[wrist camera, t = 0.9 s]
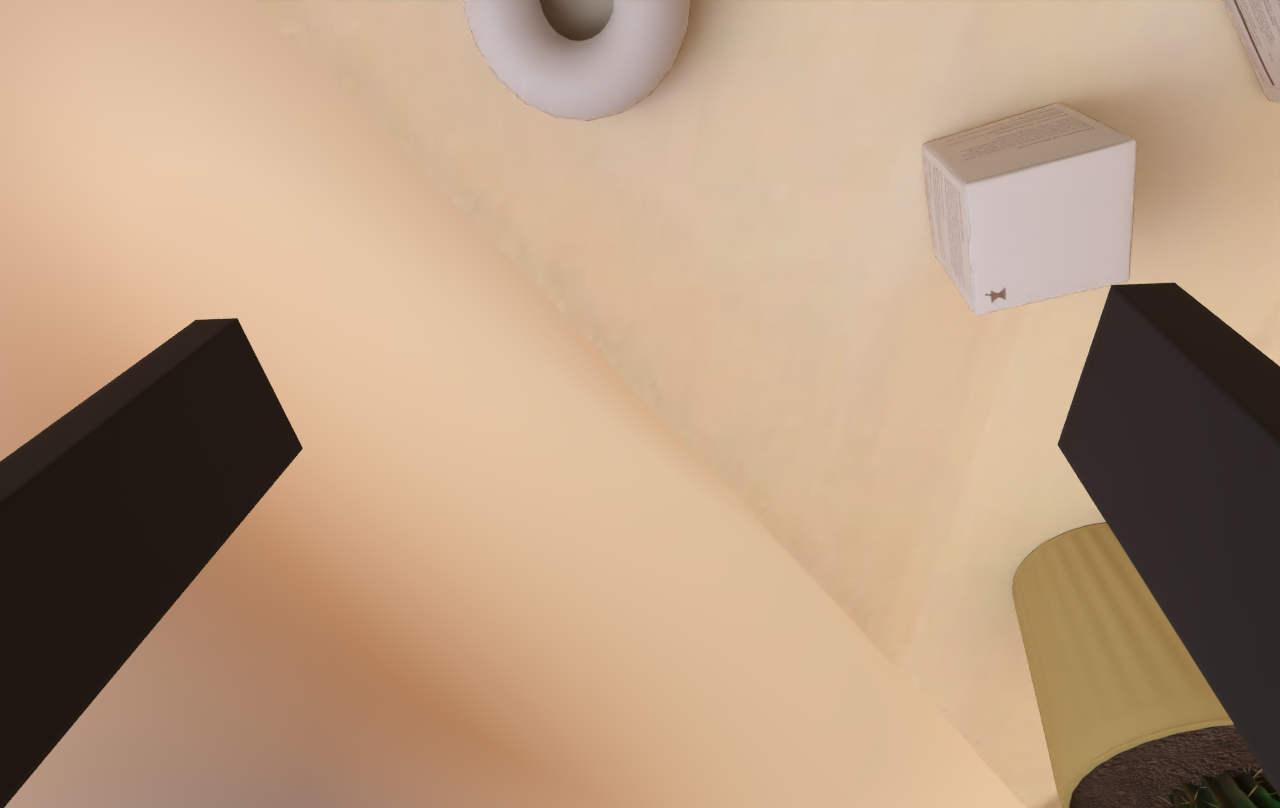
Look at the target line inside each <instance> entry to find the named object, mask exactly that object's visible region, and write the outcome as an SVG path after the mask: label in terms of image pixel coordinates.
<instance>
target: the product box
mask: <svg viewBox="0 0 1280 808" xmlns="http://www.w3.org/2000/svg"><path fill="white" fill-rule="evenodd" d="M922 150H923V162H924V172H925V181H926V190H927V199H928V207H929V215H930V223H931V231H932V238H933V245H934V252H935V256H936V258H937V259H938V260H939V262H940V263H941V265H942V267H943V268H944V270H945V271H946V273H947V274H948V276H949V277H950V279H951V280H952V282H953V283H954V285H955V286H956V288H957V289H958V291H959V292H960V294H961V295H962V297H963V298H964V300H965V301H966V303H967V304H968V306H969V307H970V309H971V310H972V312H973V313H974V314H975V315H983V314H987V313H991V312H995V311H1000V310H1004V309H1008V308H1012V307H1017V306H1021V305H1025V304H1030V303H1034V302H1038V301H1042V300H1047V299H1051V298H1056V297H1060V296H1064V295H1069V294H1073V293H1078V292H1083V291H1087V290H1092V289H1096V288H1101V287H1105V286H1110V285H1114V284H1119V283H1124V282H1127V281H1128V280H1129V278H1130V261H1131V246H1132V229H1133V213H1134V193H1135V174H1136V152H1137V140H1136V139H1134V138H1132V137H1129V136H1127V135H1125V134H1123V133H1121V132H1119V131H1117V130H1115V129H1113V128H1111V127H1109V126H1107V125H1105V124H1103V123H1101V122H1099V121H1097V120H1095V119H1093V118H1091V117H1089V116H1087V115H1084V114H1082V113H1080V112H1078V111H1076V110H1074V109H1072V108H1070V107H1068V106H1066V105H1064V104H1062V103H1056V104H1052V105H1049V106H1045V107H1042V108H1039V109H1036V110H1033V111H1029V112H1026V113H1023V114H1020V115H1016V116H1013V117H1009V118H1006V119H1003V120H1000V121H997V122H993V123H990V124H987V125H984V126H981V127H977V128H974V129H970V130H967V131H964V132H961V133H957V134H954V135H951V136H947V137H944V138H941V139H937V140H934V141H931V142H928V143H925V144H923V145H922Z"/></svg>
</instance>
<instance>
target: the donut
mask: <svg viewBox="0 0 1280 808" xmlns="http://www.w3.org/2000/svg"><path fill="white" fill-rule="evenodd" d="M463 4H464V10H465V13H466V16H467V19H468V22H469V25H470V28H471V31H472V34H473V37H474V40H475V43H476V46H477V48H478V50H479V51H480V53H481V54H482V56H483V57H484V59H485V60H486V62H487V63H488V65H489V67H490V68H491V70H492V71H493V73H494V74H495V76H496V77H497V79H498V80H499V81H500V82H501V83H503V84H504V85H505V86H506V87H507V88H508V89H509V90H510V91H512V92H513V93H514V94H515V95H516V96H517V97H518V98H519V99H521V100H522V101H523V102H524V103H525V104H527V105H530V106H532V107H534V108H536V109H538V110H540V111H543V112H545V113H547V114H549V115H551V116H553V117H556V118H565V119H574V120H583V121H590V120H594V119H598V118H603V117H607V116H611V115H615V114H619V113H622V112H624V111H625V110H627V109H629V108H630V107H632V106H633V105H635V104H636V103H638V102H639V101H641V100H642V99H644V98H646V97H647V96H649V95H650V94H651V93H652V92H653V90H654V89H655V88H656V87H657V85H658V84H659V83H660V81H661V80H662V79H663V78H664V76H665V75H666V74H667V73H668V71H669V70H670V69H671V68H672V66H673V64H674V62H675V59H676V57H677V54H678V52H679V49H680V47H681V44H682V42H683V39H684V37H685V34H686V32H687V28H688V18H689V9H690V0H614V3H613V10H612V13H611V16H610V19H609V22H608V23H607V24H606V26H605V27H604V29H603V30H602V31H601V32H600V33H598V34H597V35H596V36H594V37H593V38H590V39H587V40H583V41H576V40H570V39H567V38H565V37H563V36H561V35H560V34H559V33H558V32H557V31H555V30H554V29H553V28H552V27H551V26H550V24H549V22H548V21H547V19H546V17H545V15H544V14H543V10H542V6H541V3H540V0H463Z"/></svg>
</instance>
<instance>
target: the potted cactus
mask: <svg viewBox="0 0 1280 808" xmlns="http://www.w3.org/2000/svg"><path fill="white" fill-rule="evenodd" d="M1013 598H1014V603H1015V607H1016V612H1017V616H1018V620H1019V625H1020V629H1021V633H1022V638H1023V642H1024V646H1025V651H1026V655H1027V659H1028V664H1029V668H1030V673H1031V677H1032V681H1033V686H1034V690H1035V694H1036V699H1037V703H1038V707H1039V712H1040V716H1041V721H1042V725H1043V729H1044V734H1045V738H1046V743H1047V747H1048V752H1049V756H1050V760H1051V765H1052V770H1053V774H1054V779H1055V783H1056V788H1057V792H1058V795H1059V798H1060V801H1061V806H1062V808H1280V797H1279V795H1278V794H1277V792H1276V790H1275V789H1274V787H1273V786H1272V784H1271V783H1270V781H1269V779H1268V778H1267V776H1266V775H1265V773H1264V771H1263V770H1262V768H1261V767H1260V765H1259V763H1258V762H1257V760H1256V759H1255V757H1254V756H1253V754H1252V752H1251V751H1250V749H1249V748H1248V746H1247V744H1246V743H1245V741H1244V740H1243V738H1242V737H1241V735H1240V733H1239V732H1238V730H1237V729H1236V727H1235V725H1234V724H1233V722H1232V721H1231V719H1230V717H1229V716H1228V714H1227V713H1226V711H1225V710H1224V708H1223V706H1222V705H1221V703H1220V702H1219V700H1218V698H1217V697H1216V695H1215V694H1214V692H1213V691H1212V689H1211V687H1210V686H1209V684H1208V683H1207V681H1206V679H1205V678H1204V676H1203V675H1202V673H1201V671H1200V670H1199V668H1198V667H1197V665H1196V664H1195V662H1194V660H1193V659H1192V657H1191V656H1190V654H1189V652H1188V651H1187V649H1186V648H1185V646H1184V645H1183V643H1182V641H1181V640H1180V638H1179V637H1178V635H1177V633H1176V632H1175V630H1174V629H1173V627H1172V625H1171V624H1170V622H1169V621H1168V619H1167V618H1166V616H1165V614H1164V613H1163V611H1162V610H1161V608H1160V606H1159V605H1158V603H1157V602H1156V600H1155V599H1154V597H1153V595H1152V594H1151V592H1150V591H1149V589H1148V587H1147V586H1146V584H1145V583H1144V581H1143V579H1142V578H1141V576H1140V575H1139V573H1138V572H1137V570H1136V568H1135V567H1134V565H1133V564H1132V562H1131V560H1130V559H1129V557H1128V556H1127V554H1126V553H1125V551H1124V549H1123V548H1122V546H1121V545H1120V543H1119V541H1118V540H1117V538H1116V537H1115V535H1114V533H1113V532H1112V530H1111V529H1110V527H1109V526H1108V524H1107V523H1100V524H1094V525H1089V526H1085V527H1081V528H1078V529H1075V530H1071V531H1069V532H1066V533H1063V534H1061V535H1059V536H1057V537H1055V538H1053V539H1051V540H1049V541H1047V542H1046V543H1044V544H1043V545H1041V546H1040V547H1038V548H1037V549H1035V550H1034V551H1033V552H1032V553H1031V554H1030V555H1029V556H1028V557H1027V558H1026V559H1025V560H1024V561H1023V562H1022V564H1021V565H1020V566H1019V568H1018V570H1017V572H1016V574H1015V577H1014V580H1013Z"/></svg>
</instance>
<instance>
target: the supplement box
mask: <svg viewBox="0 0 1280 808" xmlns="http://www.w3.org/2000/svg"><path fill="white" fill-rule="evenodd" d="M1223 2H1224V4H1225V6H1226V8H1227V10H1228V12H1229V15H1230V17H1231V19H1232V21H1233V24H1234V26H1235V28H1236V30H1237V32H1238V35H1239V37H1240V39H1241V41H1242V44H1243V46H1244V48H1245V50H1246V53H1247V55H1248V57H1249V59H1250V61H1251V64H1252V66H1253V68H1254V70H1255V73H1256V75H1257V77H1258V80H1259V82H1260V84H1261V86H1262V89H1263V91H1264V93H1265V95H1266V97H1267V99H1268V100H1270V101H1274V102H1277V103H1280V0H1223Z"/></svg>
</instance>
